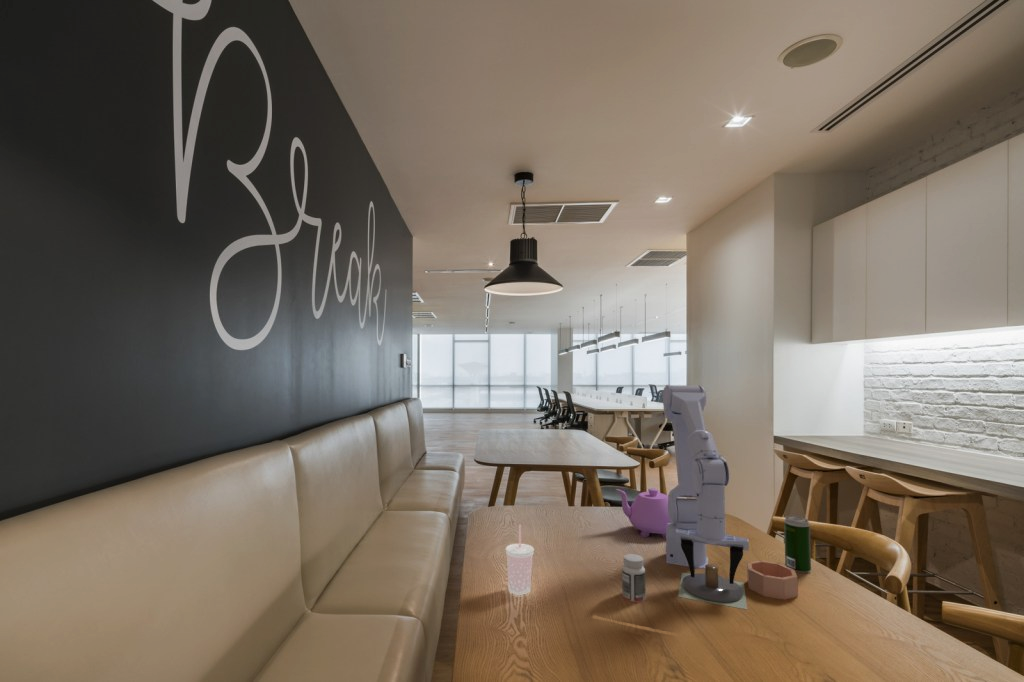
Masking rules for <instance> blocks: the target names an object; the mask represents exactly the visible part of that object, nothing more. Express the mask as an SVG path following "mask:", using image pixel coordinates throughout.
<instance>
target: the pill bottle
mask: <svg viewBox="0 0 1024 682" xmlns="http://www.w3.org/2000/svg"><path fill="white" fill-rule="evenodd" d="M622 563H623V565H622V566H621V567H622V569H621V580H622V581H621V582H622V584H621V585H622V587H621V590H622V591H621V592H622V593H621V594H622V597H623V598H624V599H625V600H626V601H627V600H628V601H630V602H636V603H637V602H638V603H639V602H643V601H645V600H646V598H647V597H646V568H645V567H644V558H643V556H641V555H639V554H636V553H635V554H634V553H628V554H624V556H623V562H622Z"/></svg>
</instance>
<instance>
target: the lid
mask: <svg viewBox="0 0 1024 682" xmlns="http://www.w3.org/2000/svg"><path fill="white" fill-rule="evenodd" d="M682 582H683V588H684V589H685V591H687V592H688V593H689V594H691V595H693V596H695V597H697V598H700V599H703V600H706V601H711V602H717V603H732V602H736V601H739V600H740V599H741V598H742V597H743V590H742V588H741V587H740V586H739V585H738V584H737V583H735V582H733V584H730V580H729V578H726V577H723V576H720V575H719V567H718V565H715V564H712V563H711V564H710V563H708V564H707V565H705V569H704V573H695V576H694V577H691V575H688V576H686V577H684V578H683V580H682Z"/></svg>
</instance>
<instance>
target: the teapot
mask: <svg viewBox="0 0 1024 682" xmlns="http://www.w3.org/2000/svg"><path fill="white" fill-rule="evenodd" d="M615 490H616V491H618V493H619V494H620V497H621V507H622V511H623V514H624V515H625V516H626V517H628V520H629V522H630V524H631V525H632V526H633V528H635V529H637V530H638V531H640V534H639V535H640V537H645V538H646V537H649V536H650V533H651V534H660V535H661V537H662V536H663V537H662V538H665V537H666V529H667V523H672V522H671V521H670V519H669V515H668V495H667V494H664V493H661V492H659V489H657V488H651V487H650V488H648V491H643V492H640V493H638V494H637V496H636V497H635V499H634V500H633V502H632V503H631V506H630V505H629V504H628V495H627V493H626V492H625V491H624V490H621V489H618V488H616V489H615Z"/></svg>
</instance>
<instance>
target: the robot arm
mask: <svg viewBox="0 0 1024 682" xmlns="http://www.w3.org/2000/svg"><path fill="white" fill-rule="evenodd" d="M662 390H663V391H662V403H663V413H664V418H665V419H668V420H669V421H670V423H671V425H672V431H673V432H672V433H673V443H674V452H675V455H674V456H675V462H676V463H675V464H676V472H677V475H676V476H677V483H678V484H677V485H676V486H675V487H674V488H672V489H670V491H669V492H668V495H667V496H668V515H669V519H670V521H671V522H672V523H667V529H666V538H665V543H666V544H665V554H666V555H665V557H666V559H665V562H666V564H670V565H671V564H672V565H678V566H683V567H689V571H690V572H689V574H691V577H694V576H695V574H696V570H695V569H701V570H705V565H707V564H709V557H708V556H707V545H710V546H716V547H717V546H719V547H725V548H727V547H728V548H729V575H728V576H729V578H728V579H729V580H730V584H733V581H735V575H736V572H737V569H738V567H739V564H740V562H741V560H742V559H743V556H744V551H746V552H748V551H749V552H750V550H749V548H750V546H749V545H750V543H749V542H750V541H749V538H745V537H740V536H735V535H730V534H726V491H725V489H726V487H727V486H728V485H729V483H730V482H729V481H730V470H729V469H730V468H729V465H728V463H727V460H726V459H725V458H724V457H723V455H721V454H719V451H718V448H717V445H716V442H715V438H714V437H713V435H712V434H713V433H711V432H709V431H706V425H705V420H704V415H703V412H704V409H705V407H706V404H707V393H706V392H707V391H706V389H705V388H704V387H703V386H702V385H669V384H666V385H665V386H664V388H663V389H662Z"/></svg>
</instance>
